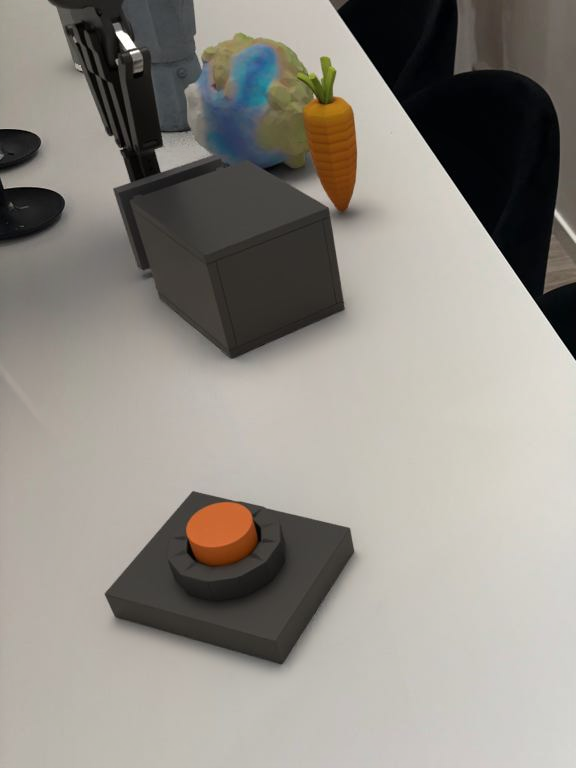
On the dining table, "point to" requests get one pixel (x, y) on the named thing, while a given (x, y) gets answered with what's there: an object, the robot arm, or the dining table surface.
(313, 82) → the carrot
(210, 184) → the dark grey panelled cube
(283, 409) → the dining table surface
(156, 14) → the moka pot
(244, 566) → the control pad
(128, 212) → the dark grey drawer
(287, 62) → the decorative rock
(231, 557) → the button
